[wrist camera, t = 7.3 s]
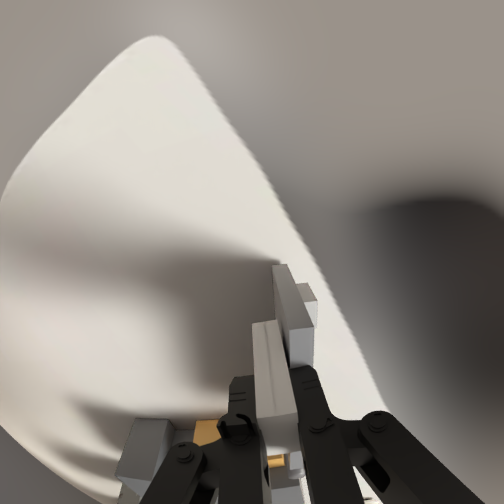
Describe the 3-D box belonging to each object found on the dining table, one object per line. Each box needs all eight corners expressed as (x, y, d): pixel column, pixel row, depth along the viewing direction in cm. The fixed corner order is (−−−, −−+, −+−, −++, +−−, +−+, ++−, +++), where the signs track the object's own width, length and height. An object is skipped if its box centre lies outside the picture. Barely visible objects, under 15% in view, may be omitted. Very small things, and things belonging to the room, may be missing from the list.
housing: (160, 462, 26) (148, 514, 17) (114, 405, 22) (86, 466, 14) (301, 453, 25) (312, 513, 16) (290, 392, 22) (305, 473, 13)
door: (299, 392, 21) (316, 465, 13) (279, 394, 21) (289, 469, 13) (298, 262, 18) (333, 324, 10) (271, 265, 18) (289, 330, 10)
